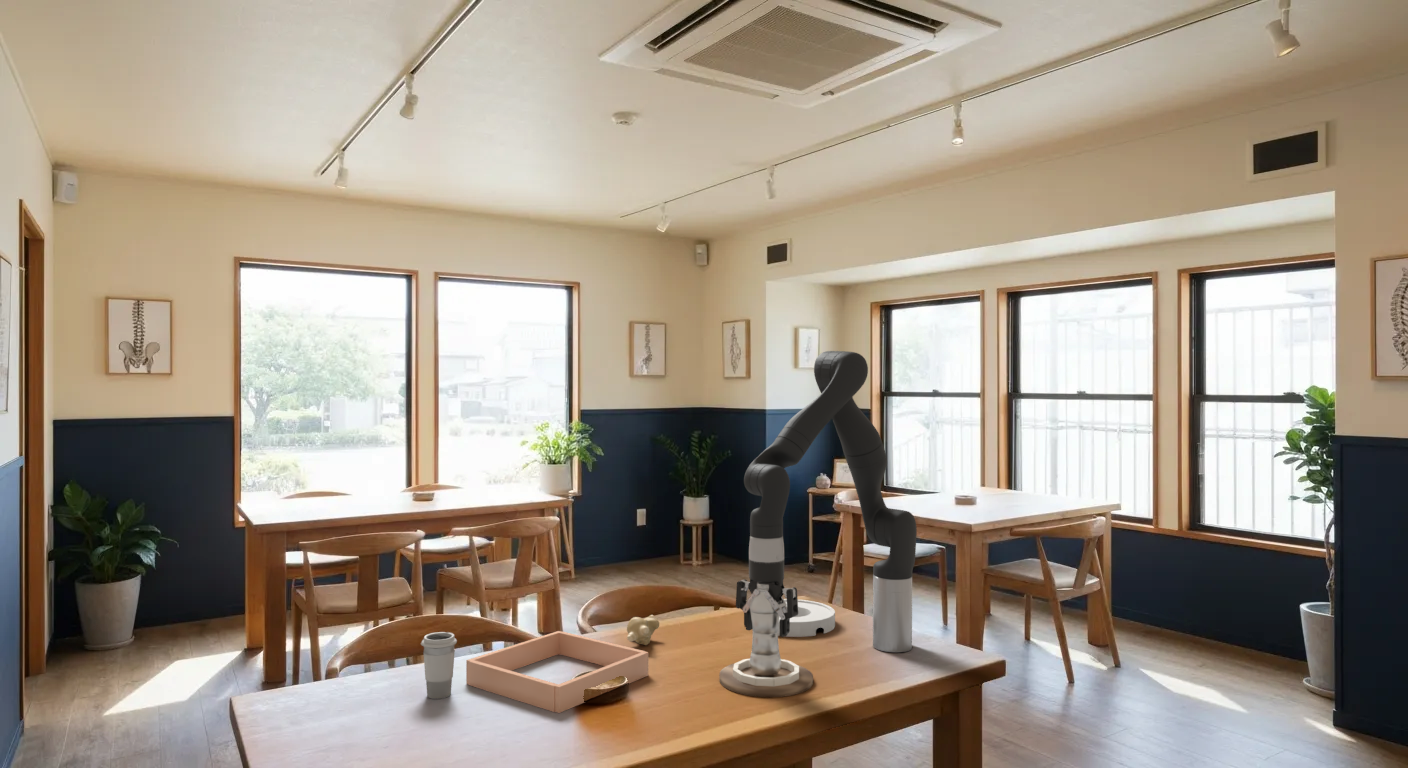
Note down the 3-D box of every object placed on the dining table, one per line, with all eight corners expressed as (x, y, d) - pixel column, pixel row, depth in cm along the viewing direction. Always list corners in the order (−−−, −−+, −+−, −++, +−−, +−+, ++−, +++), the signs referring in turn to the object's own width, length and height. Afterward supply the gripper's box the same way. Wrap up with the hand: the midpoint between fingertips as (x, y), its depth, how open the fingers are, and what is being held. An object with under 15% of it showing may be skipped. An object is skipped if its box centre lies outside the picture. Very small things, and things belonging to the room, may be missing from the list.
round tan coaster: (752, 659, 205) (752, 654, 205) (829, 677, 193) (829, 671, 193) (700, 683, 189) (700, 678, 189) (782, 704, 177) (782, 698, 177)
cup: (463, 691, 184) (463, 633, 184) (444, 702, 178) (444, 642, 177) (434, 687, 186) (434, 630, 186) (414, 698, 180) (414, 638, 180)
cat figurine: (658, 613, 223) (648, 611, 211) (664, 641, 221) (655, 641, 209) (626, 621, 223) (615, 620, 212) (633, 650, 221) (622, 651, 210)
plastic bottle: (780, 680, 187) (780, 585, 187) (747, 678, 188) (748, 584, 188) (782, 670, 194) (782, 578, 194) (750, 669, 195) (751, 577, 195)
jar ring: (756, 660, 201) (756, 653, 201) (810, 672, 193) (810, 665, 193) (720, 677, 190) (720, 670, 190) (777, 690, 181) (777, 683, 181)
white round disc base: (741, 635, 225) (741, 619, 225) (751, 611, 248) (751, 597, 248) (834, 640, 222) (834, 624, 222) (835, 615, 245) (835, 601, 244)
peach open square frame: (559, 651, 210) (559, 630, 210) (648, 675, 194) (649, 652, 194) (465, 684, 188) (465, 660, 188) (558, 713, 172) (558, 687, 172)
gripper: (804, 558, 190) (804, 634, 190) (748, 550, 198) (748, 623, 198) (786, 564, 184) (786, 643, 184) (729, 556, 192) (729, 631, 192)
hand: (766, 632), depth 191 cm, fingers open, 8 cm apart
